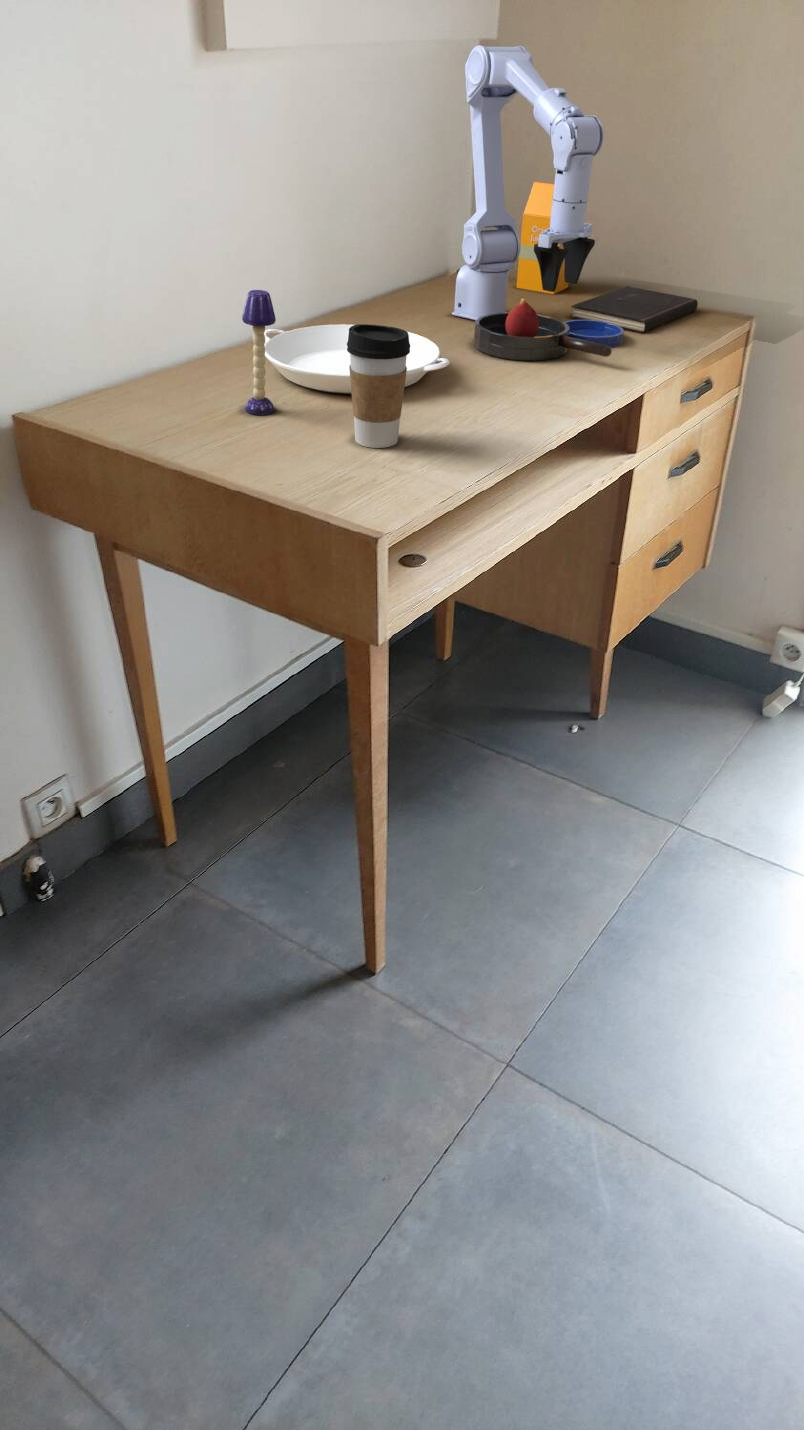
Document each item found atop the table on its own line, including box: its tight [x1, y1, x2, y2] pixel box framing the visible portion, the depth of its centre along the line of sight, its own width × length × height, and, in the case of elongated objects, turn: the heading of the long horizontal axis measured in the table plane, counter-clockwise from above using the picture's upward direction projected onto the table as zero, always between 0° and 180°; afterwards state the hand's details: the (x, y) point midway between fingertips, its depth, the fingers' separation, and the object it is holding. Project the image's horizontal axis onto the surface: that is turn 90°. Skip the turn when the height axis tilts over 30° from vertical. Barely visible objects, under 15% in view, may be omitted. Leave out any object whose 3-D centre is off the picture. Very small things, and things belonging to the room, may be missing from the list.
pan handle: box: [559, 336, 613, 358], centre depth 178 cm, size 10×2×2 cm, turn 52°
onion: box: [506, 298, 539, 337], centre depth 183 cm, size 6×6×8 cm
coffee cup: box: [347, 323, 410, 449], centre depth 141 cm, size 8×8×15 cm
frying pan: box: [473, 311, 570, 362], centre depth 184 cm, size 16×16×4 cm
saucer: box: [564, 319, 625, 348], centre depth 192 cm, size 12×12×2 cm
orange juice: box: [516, 181, 569, 295], centre depth 218 cm, size 8×9×20 cm
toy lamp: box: [241, 289, 276, 416], centre depth 149 cm, size 5×5×17 cm
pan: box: [264, 323, 451, 395], centre depth 169 cm, size 34×28×4 cm
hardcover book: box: [569, 285, 699, 334], centre depth 207 cm, size 16×23×2 cm
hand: (559, 287), depth 181 cm, fingers open, 7 cm apart
